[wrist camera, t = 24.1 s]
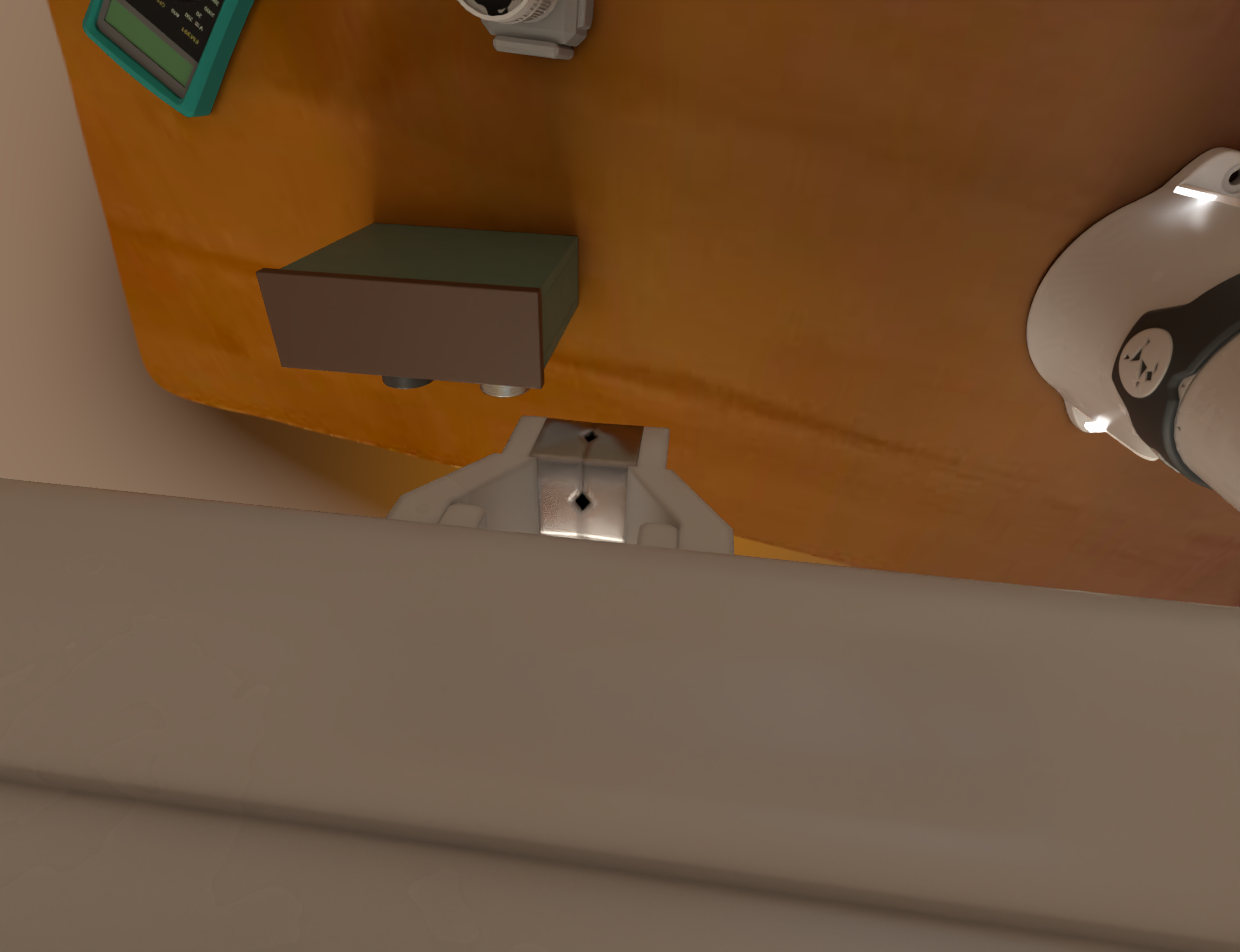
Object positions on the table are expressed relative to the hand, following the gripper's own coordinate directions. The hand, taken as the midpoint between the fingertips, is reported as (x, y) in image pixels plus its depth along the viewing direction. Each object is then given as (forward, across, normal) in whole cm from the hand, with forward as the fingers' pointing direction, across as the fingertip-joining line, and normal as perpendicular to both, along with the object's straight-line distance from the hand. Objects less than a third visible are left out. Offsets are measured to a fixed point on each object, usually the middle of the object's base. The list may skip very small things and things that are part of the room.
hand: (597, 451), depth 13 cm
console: (+35, +14, +7) cm, 38 cm away
